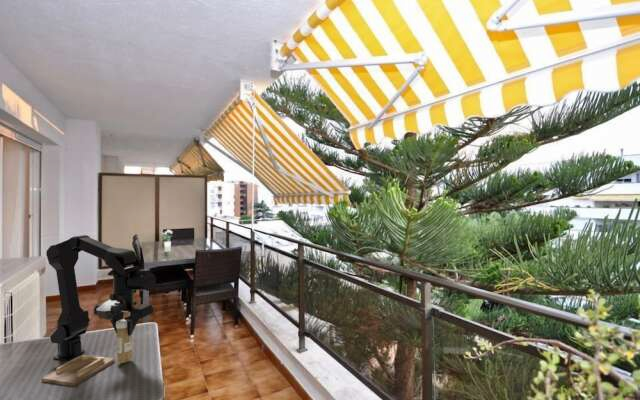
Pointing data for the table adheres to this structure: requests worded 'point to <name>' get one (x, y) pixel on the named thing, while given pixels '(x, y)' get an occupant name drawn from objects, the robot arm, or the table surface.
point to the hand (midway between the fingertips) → (124, 334)
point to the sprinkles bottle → (123, 342)
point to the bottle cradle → (77, 370)
